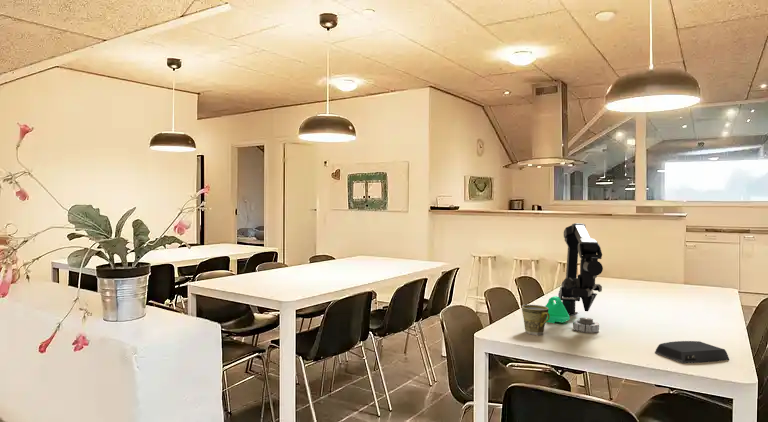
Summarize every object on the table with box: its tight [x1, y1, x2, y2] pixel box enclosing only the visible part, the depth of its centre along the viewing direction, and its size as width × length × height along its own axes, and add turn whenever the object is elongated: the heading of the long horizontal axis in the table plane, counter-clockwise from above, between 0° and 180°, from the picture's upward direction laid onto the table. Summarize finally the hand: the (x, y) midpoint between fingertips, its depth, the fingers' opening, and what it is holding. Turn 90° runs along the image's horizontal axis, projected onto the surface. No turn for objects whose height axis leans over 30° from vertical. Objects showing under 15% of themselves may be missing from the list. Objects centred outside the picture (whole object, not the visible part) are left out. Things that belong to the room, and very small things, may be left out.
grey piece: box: [572, 319, 600, 334], centre depth 208 cm, size 10×10×3 cm
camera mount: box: [544, 295, 571, 324], centre depth 223 cm, size 12×8×10 cm, turn 51°
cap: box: [579, 317, 594, 325], centre depth 208 cm, size 5×5×4 cm
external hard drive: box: [654, 340, 730, 364], centre depth 175 cm, size 13×19×4 cm
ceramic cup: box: [521, 304, 550, 336], centre depth 200 cm, size 13×10×10 cm
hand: (586, 311), depth 208 cm, fingers closed
